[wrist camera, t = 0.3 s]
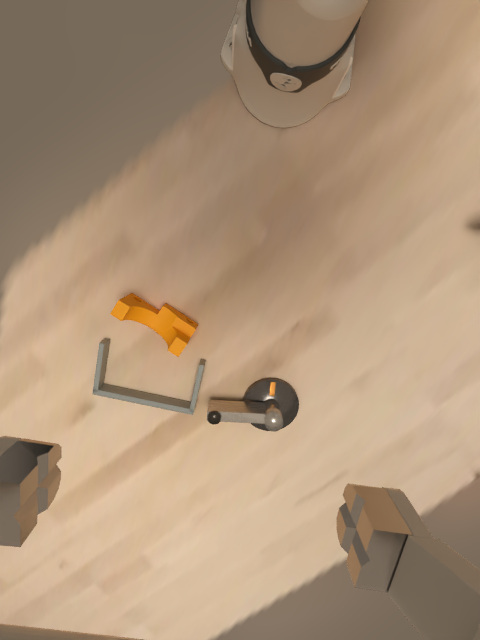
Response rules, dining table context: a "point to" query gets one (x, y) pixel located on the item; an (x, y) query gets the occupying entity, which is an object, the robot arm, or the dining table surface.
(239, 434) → the dining table surface
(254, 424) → the crank base
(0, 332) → the dining table surface
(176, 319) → the pipe clamp
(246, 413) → the crank
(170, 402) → the bay
